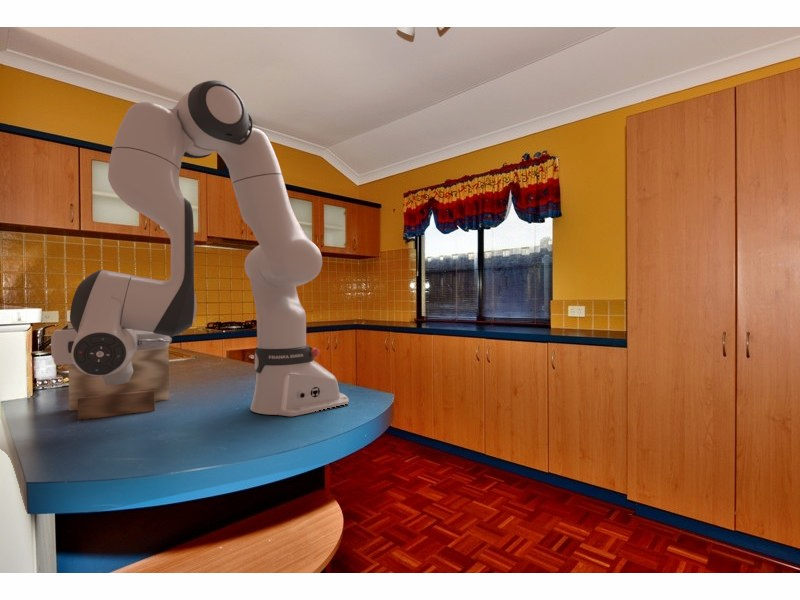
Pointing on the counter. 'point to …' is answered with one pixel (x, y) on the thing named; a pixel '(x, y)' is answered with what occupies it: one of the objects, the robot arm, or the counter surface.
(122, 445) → the counter surface
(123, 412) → the cleat ledge
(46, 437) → the counter surface
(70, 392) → the wall board
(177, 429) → the counter surface
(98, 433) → the counter surface
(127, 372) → the salt shaker
